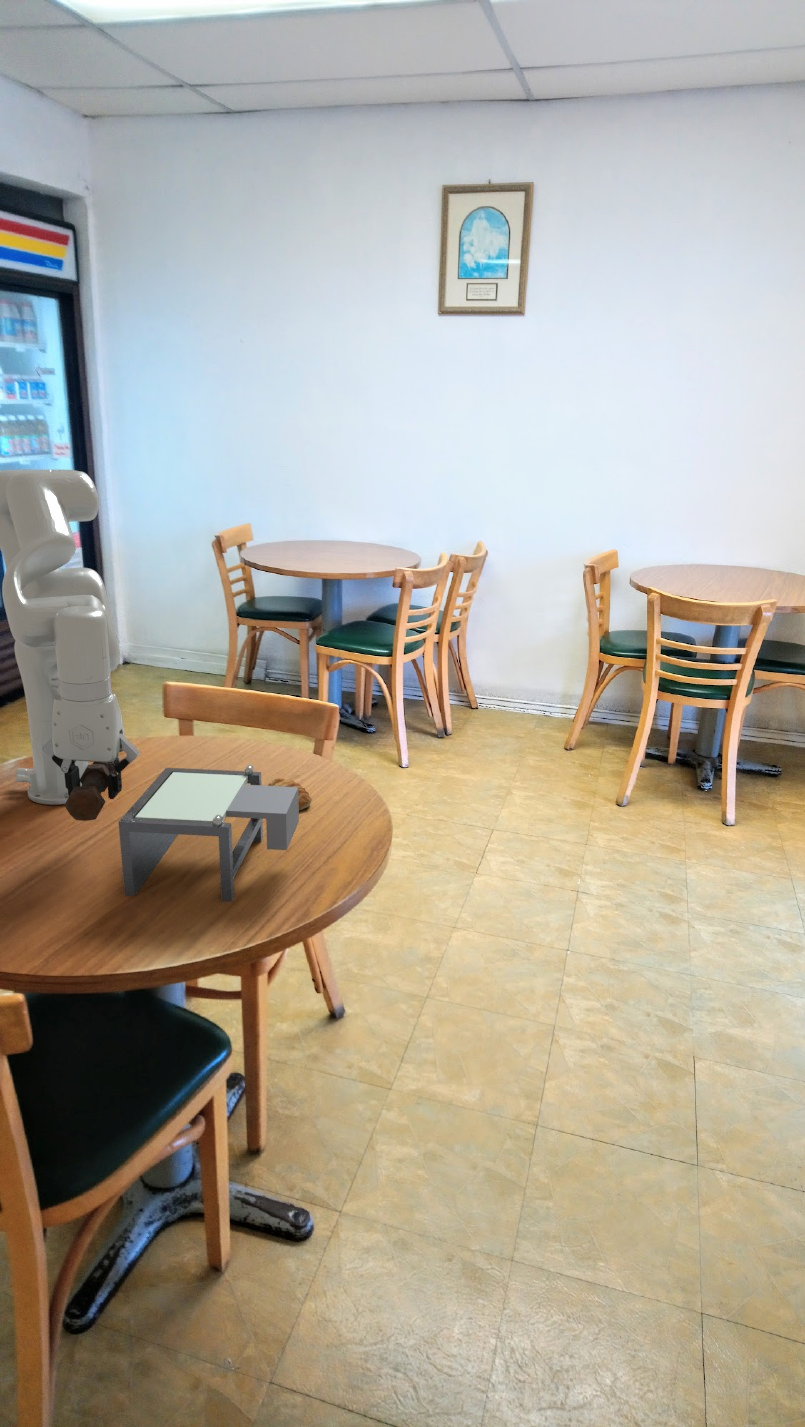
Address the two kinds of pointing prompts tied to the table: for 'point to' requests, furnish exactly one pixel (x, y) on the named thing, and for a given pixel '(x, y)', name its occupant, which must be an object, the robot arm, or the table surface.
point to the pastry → (302, 794)
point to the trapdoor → (226, 803)
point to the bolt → (89, 793)
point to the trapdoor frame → (155, 836)
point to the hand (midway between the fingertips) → (94, 793)
